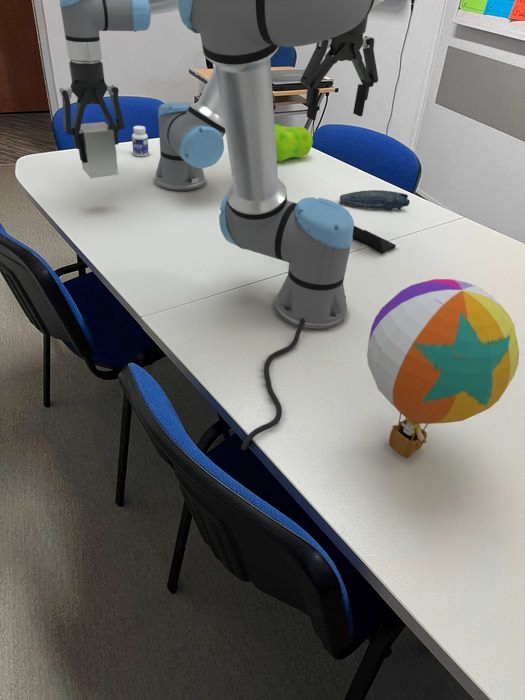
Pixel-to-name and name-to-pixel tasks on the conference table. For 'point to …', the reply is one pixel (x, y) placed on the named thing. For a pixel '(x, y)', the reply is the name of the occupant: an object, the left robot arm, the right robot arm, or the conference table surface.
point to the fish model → (376, 199)
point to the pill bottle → (140, 141)
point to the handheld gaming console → (372, 240)
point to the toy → (440, 356)
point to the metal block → (99, 150)
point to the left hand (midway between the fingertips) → (98, 159)
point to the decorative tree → (292, 142)
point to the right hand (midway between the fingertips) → (334, 116)
